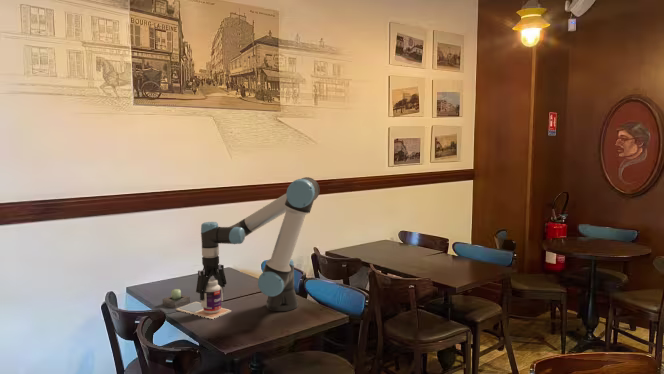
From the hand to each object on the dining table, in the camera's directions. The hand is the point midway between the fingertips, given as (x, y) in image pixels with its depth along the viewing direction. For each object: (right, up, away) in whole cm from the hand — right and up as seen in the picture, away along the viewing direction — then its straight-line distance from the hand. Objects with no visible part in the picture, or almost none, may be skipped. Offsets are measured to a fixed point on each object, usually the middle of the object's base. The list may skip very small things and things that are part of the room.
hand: (212, 303), depth 219 cm
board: (-5, -4, +4) cm, 8 cm away
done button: (-21, -1, +14) cm, 25 cm away
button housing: (-21, -4, +14) cm, 25 cm away
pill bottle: (0, -4, 0) cm, 4 cm away
